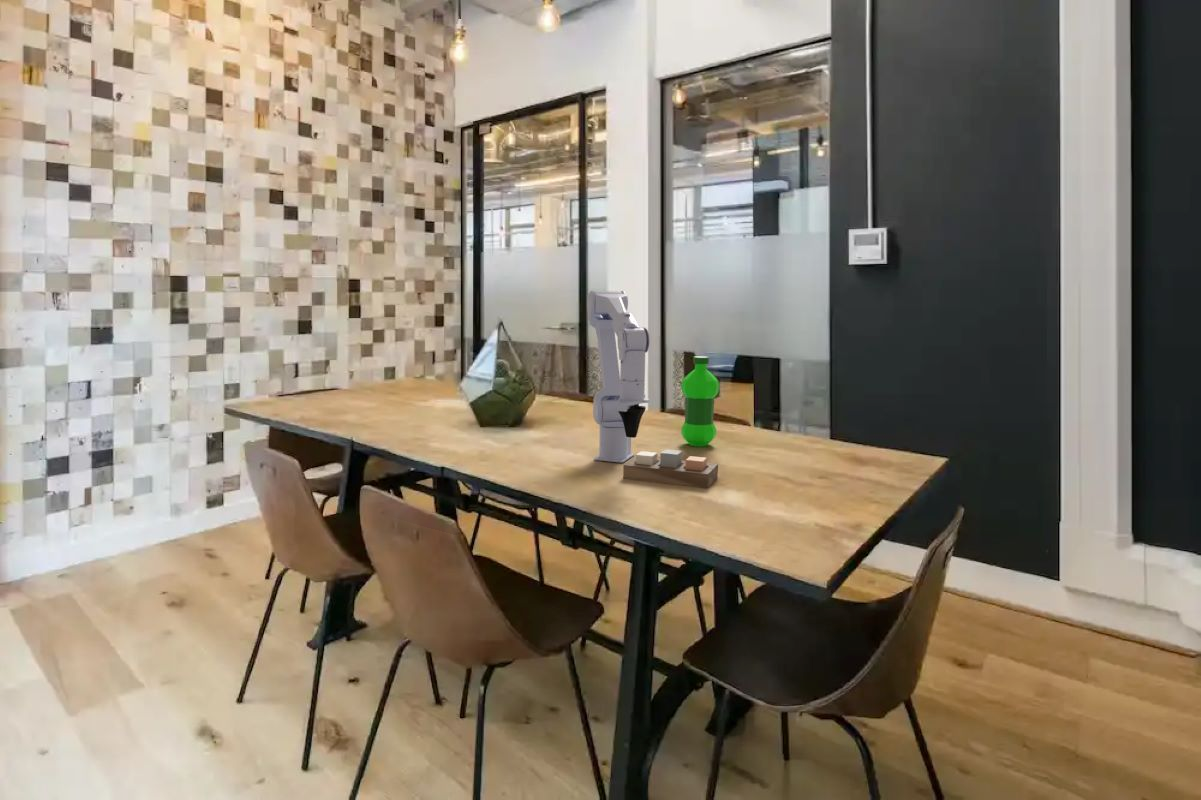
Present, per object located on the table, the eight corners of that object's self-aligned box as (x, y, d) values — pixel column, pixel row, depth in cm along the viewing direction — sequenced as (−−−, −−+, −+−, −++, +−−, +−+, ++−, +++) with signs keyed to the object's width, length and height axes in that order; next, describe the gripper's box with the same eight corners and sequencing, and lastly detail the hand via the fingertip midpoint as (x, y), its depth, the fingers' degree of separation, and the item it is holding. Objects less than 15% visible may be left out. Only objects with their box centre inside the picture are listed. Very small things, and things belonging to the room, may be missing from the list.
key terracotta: (689, 471, 167) (690, 456, 166) (706, 472, 165) (706, 457, 165) (685, 475, 163) (685, 459, 163) (702, 477, 162) (702, 461, 161)
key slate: (665, 464, 169) (665, 449, 168) (681, 465, 167) (681, 451, 167) (660, 468, 165) (660, 452, 165) (676, 469, 164) (677, 454, 163)
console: (637, 468, 175) (637, 455, 175) (717, 477, 168) (718, 464, 167) (623, 478, 166) (623, 464, 165) (707, 488, 159) (708, 474, 158)
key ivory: (641, 465, 171) (641, 451, 171) (657, 467, 170) (657, 452, 169) (635, 469, 168) (635, 454, 167) (651, 471, 166) (652, 456, 166)
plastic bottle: (724, 446, 201) (727, 357, 197) (694, 449, 196) (697, 359, 192) (702, 439, 210) (704, 354, 206) (672, 442, 204) (675, 356, 201)
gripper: (639, 384, 158) (638, 444, 160) (657, 377, 171) (656, 432, 174) (609, 382, 160) (608, 441, 163) (629, 375, 174) (628, 430, 176)
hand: (631, 436), depth 168 cm, fingers closed
